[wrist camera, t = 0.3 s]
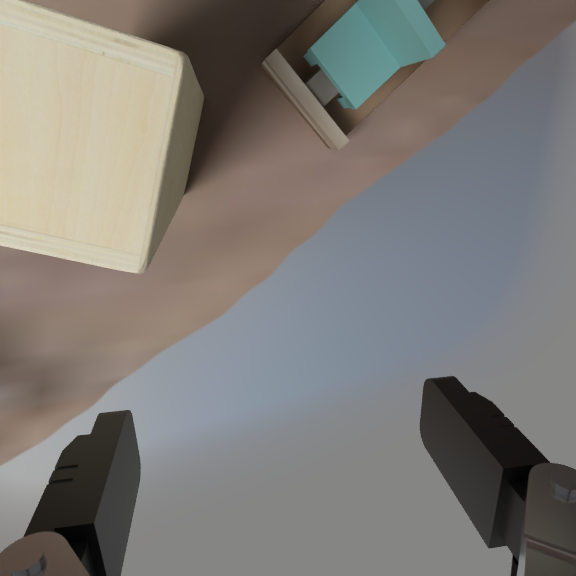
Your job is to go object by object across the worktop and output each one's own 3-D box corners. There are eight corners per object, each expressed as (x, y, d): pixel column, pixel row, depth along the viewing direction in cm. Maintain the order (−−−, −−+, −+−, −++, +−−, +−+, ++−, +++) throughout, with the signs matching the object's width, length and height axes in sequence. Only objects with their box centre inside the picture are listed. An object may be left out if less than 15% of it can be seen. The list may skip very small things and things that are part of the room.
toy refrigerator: (103, 61, 32) (-65, -32, 13) (205, 92, 34) (193, 53, 15) (86, 172, 35) (-77, 236, 15) (183, 197, 36) (148, 282, 17)
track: (470, -146, 32) (525, -203, 26) (526, -40, 34) (586, -72, 29) (260, 65, 34) (269, 54, 28) (328, 148, 37) (348, 152, 31)
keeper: (354, 2, 32) (396, -34, 25) (395, 62, 34) (446, 45, 27) (301, 54, 33) (327, 34, 25) (344, 110, 35) (380, 106, 27)
